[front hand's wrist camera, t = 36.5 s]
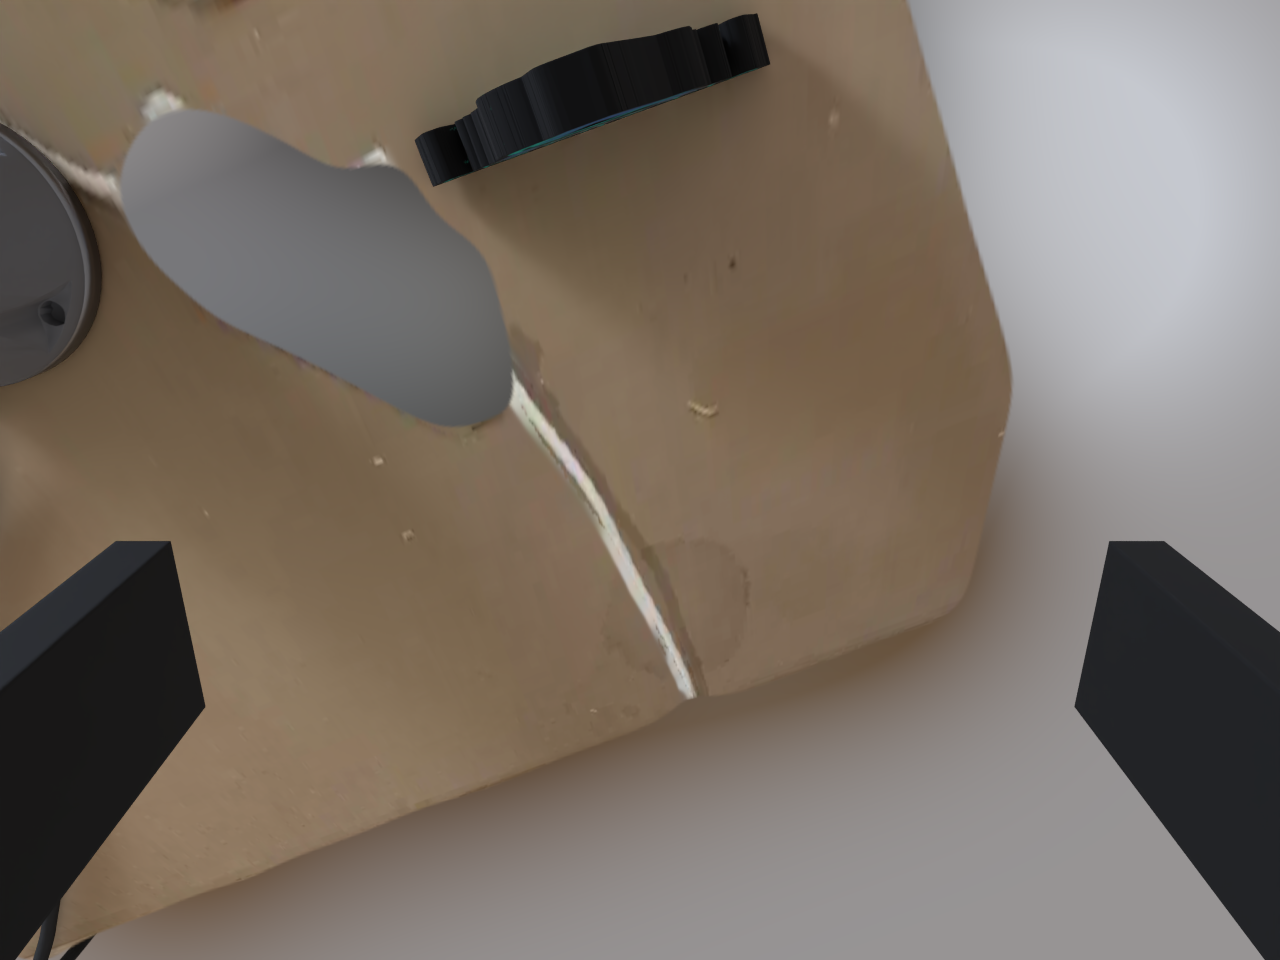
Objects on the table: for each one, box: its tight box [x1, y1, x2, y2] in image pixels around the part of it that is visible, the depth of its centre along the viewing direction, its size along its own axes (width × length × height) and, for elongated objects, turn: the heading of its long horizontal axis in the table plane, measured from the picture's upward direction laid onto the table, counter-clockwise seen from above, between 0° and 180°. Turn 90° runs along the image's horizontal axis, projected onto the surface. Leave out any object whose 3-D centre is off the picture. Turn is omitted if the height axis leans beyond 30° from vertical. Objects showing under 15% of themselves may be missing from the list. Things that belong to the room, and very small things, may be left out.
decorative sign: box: [415, 14, 770, 187], centre depth 41 cm, size 19×2×15 cm, turn 109°
